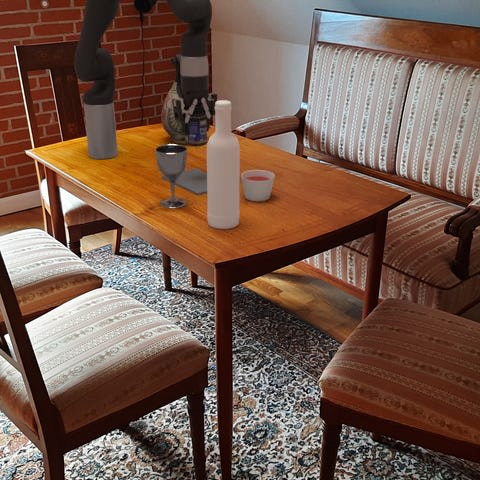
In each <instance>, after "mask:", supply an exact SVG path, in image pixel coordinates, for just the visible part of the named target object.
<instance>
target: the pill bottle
mask: <svg viewBox="0 0 480 480" xmlns="http://www.w3.org/2000/svg"><path fill="white" fill-rule="evenodd" d="M188 110H189V109H187V111H188ZM203 110H204V106H202V105H201V106H195V107H194V111H193V113H192V115H191V116H190V118H189V121H188V123H189V136H185V140H186V144H185V145H187V146H190V147H202V146H205V145H207V144H208V132H207V116H206V114H205V113H203Z"/></svg>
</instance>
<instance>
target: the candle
mask: <svg viewBox="0 0 480 480" xmlns="http://www.w3.org/2000/svg"><path fill="white" fill-rule="evenodd" d="M275 176H276V175H275V174H274V173H273V172H272V171H269V170H264V169H250V170H244V171H243V172H242V173H241V174H240V177H241V178H240V179H241V182H242V188H243V189H242V190H243V194H244V198H245V199H246V200H249V201H252V202H264V201H268V200H269V199H270V197H271V193H272V190H273V186H274V179H275Z"/></svg>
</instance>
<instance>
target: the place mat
mask: <svg viewBox="0 0 480 480" xmlns="http://www.w3.org/2000/svg"><path fill="white" fill-rule="evenodd" d="M161 179H162V180H163V179H164V180H165V181H167V182H169V180H168V179H167V178H166V177H165V176H164V175H161ZM175 186H177V187H179V188H182V189H184V190H186V191H188V192H190V193H192V194H195V195H197V196H200V195H201V196H202V195H204V194H207V171H203V170H202V169H199V168H196V167H194V168H193V167H192V168H188V169H185V170H184V171H183V173H182V174H181V175H180V176H179V177H178V179H177V180H176V183H175Z"/></svg>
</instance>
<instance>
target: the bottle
mask: <svg viewBox="0 0 480 480" xmlns="http://www.w3.org/2000/svg"><path fill="white" fill-rule="evenodd" d="M232 109H233V106H232V102H231V101H230V100H225V99H223V100H222V99H220V100H217V101H216V102H215V115H214V116H215V117H214V118H215V119H214V120H215V122H214V123H215V128H214V129H215V131H214V132H213V133H212V134H211V135H210V136H209V139H208V140H207V143H206V173H207V193H206V194H207V195H206V196H207V197H206V198H207V202H206V203H207V213H206V215H207V216H206V218H207V224H208V225H209V227H212V228H214V229H219V230H229V229H233V228H235V227H238V225H239V224H240V216H241V215H240V214H241V213H240V179H241V178H240V177H241V174H240V171H241V170H240V163H241V162H240V161H241V156H240V155H241V154H240V153H241V150H240V149H241V146H240V143H239V142H240V141H239V139H238V137H237V136H236V135H235V134H234V132H232Z"/></svg>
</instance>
